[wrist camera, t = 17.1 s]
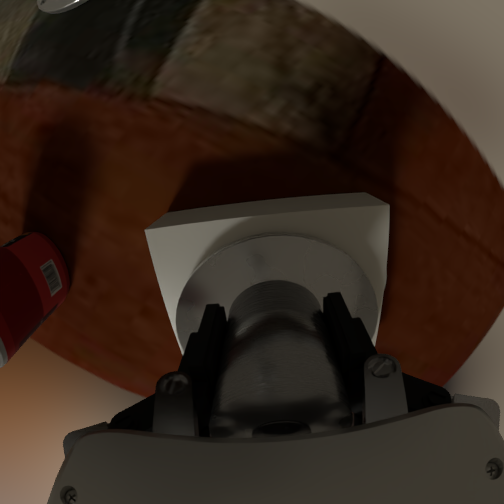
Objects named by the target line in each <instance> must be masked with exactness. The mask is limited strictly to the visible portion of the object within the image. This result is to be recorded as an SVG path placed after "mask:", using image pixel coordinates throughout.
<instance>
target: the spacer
mask: <svg viewBox="0 0 504 504" xmlns="http://www.w3.org/2000/svg"><path fill="white" fill-rule="evenodd" d="M352 423H353V414H352V411H351V407H350V403H349V399H348V396H347V392H346V388H345V385H344V381H343V378H342V374H341V371H340V367H339V364H338V360H337V357H336V354H335V350H334V347H333V344H332V340H331V337H330V334H329V331H328V328H327V324H326V321H325V318H324V315H323V312H322V309H321V306H320V304H319V301H318V300H317V298H316V297H315V296H314V294H313V293H312V292H310V291H309V290H308V289H307V288H305V287H303V286H301V285H299V284H297V283H294V282H290V281H285V280H270V281H264V282H260V283H257V284H255V285H252V286H250V287H249V288H247V289H245V290H244V291H243V292H241V293H240V294H239V295H238V296H237V297H236V299H235V300H234V301H233V303H232V305H231V307H230V310H229V315H228V320H227V326H226V331H225V337H224V342H223V348H222V353H221V359H220V365H219V370H218V376H217V382H216V387H215V393H214V399H213V405H212V411H211V417H210V423H209V432H210V434H211V436H212V437H214V438H259V437H278V436H291V435H301V434H309V433H317V432H324V431H331V430H337V429H342V428H348V427H351V426H352Z"/></svg>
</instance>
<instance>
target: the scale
mask: <svg viewBox="0 0 504 504" xmlns="http://www.w3.org/2000/svg"><path fill="white" fill-rule="evenodd" d="M389 217H390V205H389V204H387V203H385V202H383V201H381V200H379V199H378V198H376V197H374V196H372V195H370V194H368V193H366V192H361V193H344V194H329V195H315V196H303V197H292V198H281V199H271V200H261V201H252V202H243V203H234V204H226V205H218V206H210V207H203V208H196V209H189V210H182V211H175V212H168V213H166V214H164V215H163V216H162V217H161V218H159V219H158V220H157V221H155V222H154V223H153V224H152V225H150V226H149V227H148V228H146V229H145V233H146V237H147V242H148V246H149V250H150V253H151V257H152V261H153V265H154V268H155V272H156V275H157V279H158V282H159V286H160V289H161V293H162V296H163V299H164V302H165V305H166V309H167V312H168V315H169V318H170V321H171V324H172V327H173V330H174V333H175V335H176V338H177V341H178V344H179V347H180V349H181V352H182V355H183V354H184V351H183V348H182V346H181V344H180V342H179V338H178V335H177V330H176V309H177V305H178V301H179V298H180V295H181V293H182V291H183V288H184V286H185V285H186V283H187V281H188V279H189V278H190V276H191V275H192V273H193V271H194V270H195V269H196V268H197V267H198V266H199V265H200V264H201V262H202V261H204V260H205V259H206V258H207V257H208V256H209V255H211V254H212V253H213V252H215V251H216V250H218V249H220V248H221V247H223V246H224V245H227V244H229V243H231V242H233V241H235V240H238V239H241V238H244V237H247V236H251V235H255V234H261V233H267V232H294V233H302V234H306V235H311V236H315V237H318V238H320V239H323V240H325V241H328V242H330V243H332V244H334V245H335V246H337V247H339V248H341V249H342V250H343V251H344V252H346V253H347V254H348V255H350V256H351V257H352V258H353V259H354V260H355V261H356V263H357V264H358V265H359V266H360V267H361V269H362V270H363V271H364V273H365V274H366V276H367V277H368V279H369V280H370V282H371V285H372V287H373V289H374V291H375V295H376V299H377V306H378V318H377V325H376V330H375V333H374V336H373V338H372V343H373V345H374V347H375V342H376V337H377V332H378V326H379V320H380V314H381V308H382V301H383V293H384V288H385V285H386V279H387V270H386V266H387V255H388V240H389Z"/></svg>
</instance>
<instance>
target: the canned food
mask: <svg viewBox="0 0 504 504" xmlns="http://www.w3.org/2000/svg"><path fill="white" fill-rule="evenodd" d="M69 285H70V281H69V273H68V269H67V266H66V263H65V261H64V259H63V256H62V255H61V253H60V251H59V249H58V248H57V247H56V245H55V244H54V243H53V242H52V241H51V240H50V239H49V238H48V237H47V236H45V235H44V234H42V233H40V232H26V233H24V234H22V235H20V236H18V237H16V238H15V239H13V240H11V241H9V242H7V243H6V244H4V245H2V246H0V367H3V366H4V364H6V363H7V362H8V361H9V359H11V357H12V356H13V355H14V354H15V353H16V352H17V351H18V350H19V348H20V347H21V346H22V345H23V344H24V343H25V342H26V340H27V339H28V338H29V337H30V336H31V335H32V334H33V333H34V332H35V330H36V329H37V328H38V327H39V326H40V325H41V324H42V323H43V322H44V321H45V320H46V319H47V318H48V317H49V316H50V315H51V314H52V313H53V312H54V310H55V309H56V308H57V307H58V306H59V305H60V304H61V303H62V302H63V301H64V300H65V298H66V295H67V293H68V291H69Z"/></svg>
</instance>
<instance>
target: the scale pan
mask: <svg viewBox="0 0 504 504" xmlns="http://www.w3.org/2000/svg"><path fill="white" fill-rule="evenodd" d="M270 280H285V281H290V282H294V283H297V284H299V285H301V286H303V287H305V288H307V289H308V290H309V291H310V292H312V293H313V294H314V296H315V297H316V298H317V300H318V301H319V304H320V306H321V309H322V312H323V297H326V296H327V294H328V293H332V292H340V293H341V295H342V297H343V299H344V301H345V303H346V306H347V308H348V310H349V312H350V314H351V316H352V318H357V317H360V318H361V320H362V322H363V324H364V326H365V328H366V330H367V332H368V334H369V336H370V338H371V340H372V338H373V336H374V333H375V330H376V325H377V318H378V306H377V299H376V295H375V291H374V289H373V287H372V285H371V282H370V280H369V279H368V277H367V276H366V274H365V273H364V271H363V270H362V269H361V267H360V266H359V265H358V264H357V263H356V261H355V260H354V259H353V258H352V257H351V256H350V255H348V254H347V253H346V252H344V251H343V250H342V249H341V248H339V247H337V246H335V245H334V244H332V243H330V242H328V241H325V240H323V239H320V238H318V237H315V236H311V235H306V234H302V233H294V232H267V233H261V234H255V235H251V236H247V237H244V238H241V239H238V240H235V241H233V242H231V243H229V244H227V245H224V246H223V247H221V248H220V249H218V250H216V251H215V252H213V253H212V254H211V255H209V256H208V257H207V258H206V259H205V260H204V261H202V262H201V264H200V265H199V266H198V267H197V268H196V269H195V270H194V271H193V273H192V275H191V276H190V278H189V279H188V281H187V283H186V285H185V286H184V288H183V291H182V293H181V295H180V298H179V301H178V305H177V309H176V330H177V335H178V338H179V342H180V344H181V346H182V348H183V351H185V348H186V345H187V342H188V339H189V336H190V334H191V333H192V332H198V329H199V326H200V323H201V320H202V317H203V313H204V310H205V307H206V305H207V304H216V303H219V305H220V306H224V309H225V313H226V318H227V320H228V315H229V310H230V307H231V305H232V303H233V301H234V300H235V299H236V297H237V296H238V295H239V294H240V293H241V292H243V291H244V290H245V289H247V288H249V287H250V286H252V285H255V284H257V283H260V282H264V281H270Z"/></svg>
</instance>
